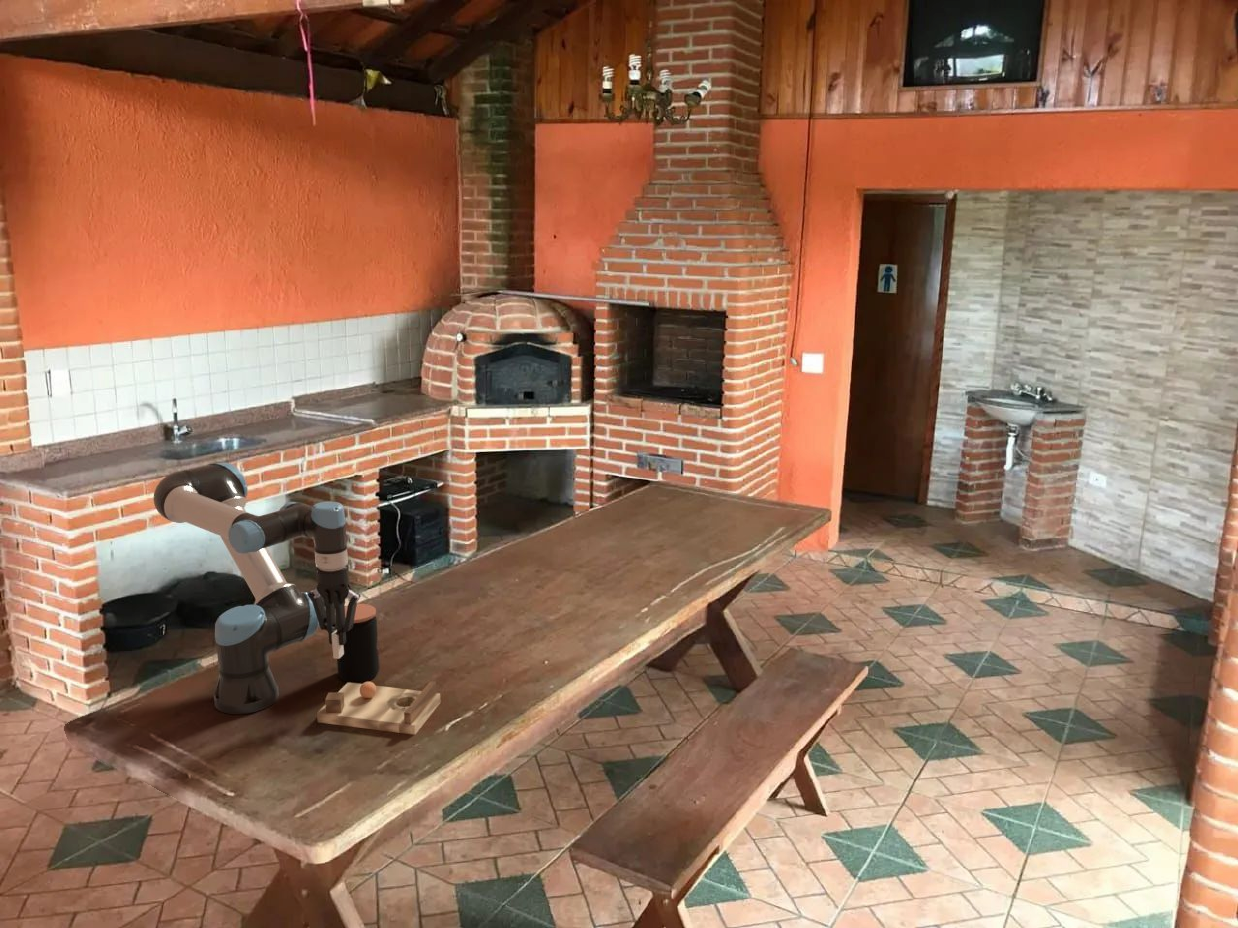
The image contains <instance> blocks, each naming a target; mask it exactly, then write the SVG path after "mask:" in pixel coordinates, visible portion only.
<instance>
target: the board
mask: <svg viewBox="0 0 1238 928" xmlns="http://www.w3.org/2000/svg"><path fill="white" fill-rule="evenodd" d="M362 684H363V683H349V682H346V684H345V685H343V686H342V688H340V689H339V691H338V692H344V708H343V710H342V713H326V705H325V704H324V705H323V706H322V707H321V708H320V709H319V711H317V712H316V718H317V719H316V720H317V723H321V724H329V725H334V726H335V725H337V726H343V727H353V728H361V729H367V730H368V729H369V730H376V731H382V732H383V731H384V732H390V733H392V732H393V733H397V734H398V733H400V734H405V735H406V734H408V735H414V736H415V735H416V734H417V733H418V732H419V731H420V729H421V728H422V727H423V725H424V724H425V723H426V721H427V720H428V719H429V718H430V717H431V715H432V714H433V713H434V711H435V710H436V709H437V708H438V706H439V705H440V704H441V703H442V702H441V693H439V692H437V691H438V687H437V682H436V681H433V680H432V681H431V680H430V681H429V682H428V684H427V685H426V686H425V687H424V688H423V689H422V690H414V689H408V688H407V689H406V688H398V687H391V686H381V685H375V686H376V693H375V695H374V696H373V697H371V698H364V697H363V696H361V694H360V687H361V685H362Z"/></svg>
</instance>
